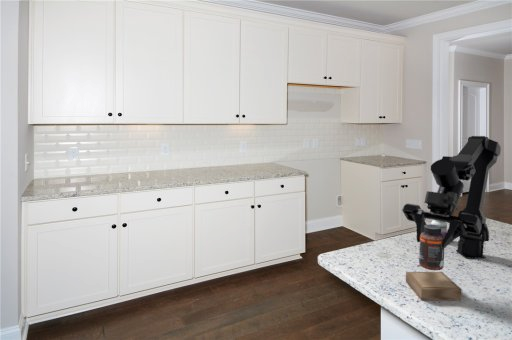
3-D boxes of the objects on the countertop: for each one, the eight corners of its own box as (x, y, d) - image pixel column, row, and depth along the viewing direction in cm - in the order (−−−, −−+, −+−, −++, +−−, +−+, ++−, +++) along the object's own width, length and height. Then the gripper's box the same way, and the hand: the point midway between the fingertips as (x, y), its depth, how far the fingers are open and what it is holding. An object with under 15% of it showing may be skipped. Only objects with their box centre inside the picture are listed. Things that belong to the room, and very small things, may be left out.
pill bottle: (427, 238, 130) (428, 214, 128) (440, 237, 130) (441, 214, 128) (435, 243, 124) (436, 218, 123) (449, 242, 124) (450, 217, 123)
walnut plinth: (441, 281, 95) (441, 271, 95) (460, 300, 85) (461, 288, 85) (405, 281, 96) (406, 271, 95) (421, 300, 86) (421, 288, 85)
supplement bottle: (448, 270, 88) (451, 229, 86) (427, 272, 87) (429, 231, 85) (433, 261, 93) (435, 222, 92) (414, 262, 93) (415, 223, 91)
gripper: (406, 176, 96) (386, 221, 91) (481, 184, 82) (463, 238, 77) (417, 197, 102) (399, 241, 97) (488, 208, 89) (472, 260, 83)
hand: (429, 244), depth 88 cm, fingers closed on supplement bottle, 6 cm apart
